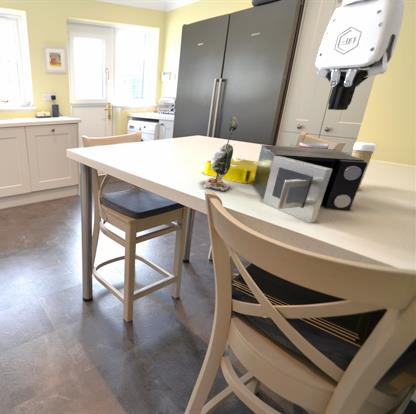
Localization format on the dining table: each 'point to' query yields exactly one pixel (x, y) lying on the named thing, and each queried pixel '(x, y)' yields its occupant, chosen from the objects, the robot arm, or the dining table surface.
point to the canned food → (313, 145)
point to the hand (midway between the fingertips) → (337, 109)
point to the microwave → (336, 160)
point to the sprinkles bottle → (363, 153)
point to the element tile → (236, 170)
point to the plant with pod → (222, 161)
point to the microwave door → (296, 187)
